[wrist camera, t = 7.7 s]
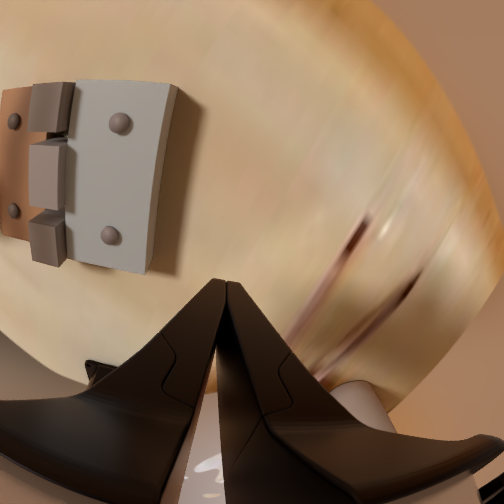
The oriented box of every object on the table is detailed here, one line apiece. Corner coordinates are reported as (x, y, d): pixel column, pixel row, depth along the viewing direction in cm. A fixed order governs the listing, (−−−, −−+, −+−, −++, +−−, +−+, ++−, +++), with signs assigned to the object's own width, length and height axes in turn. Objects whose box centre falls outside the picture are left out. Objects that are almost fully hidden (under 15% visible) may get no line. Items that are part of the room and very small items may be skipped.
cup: (389, 382, 29) (412, 438, 22) (332, 422, 33) (344, 475, 25) (351, 367, 27) (374, 434, 20) (290, 412, 31) (299, 474, 23)
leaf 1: (90, 84, 14) (63, 81, 11) (79, 244, 19) (58, 267, 16) (12, 89, 13) (-17, 92, 10) (10, 229, 18) (-13, 247, 15)
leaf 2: (178, 87, 15) (166, 81, 12) (153, 256, 20) (140, 283, 17) (65, 82, 14) (36, 81, 11) (56, 237, 19) (34, 258, 16)
